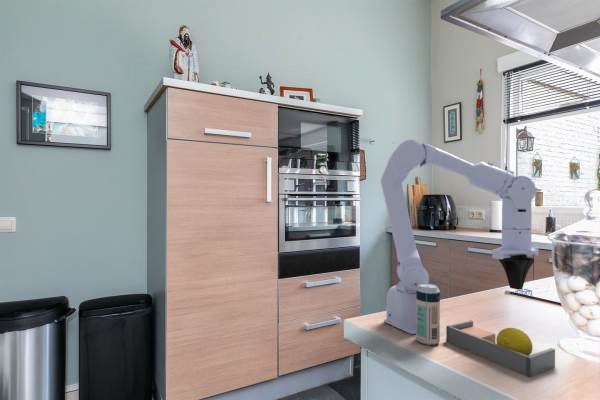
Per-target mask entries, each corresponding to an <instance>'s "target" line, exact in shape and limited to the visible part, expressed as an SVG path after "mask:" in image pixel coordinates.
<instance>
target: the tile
mask: <svg viewBox="0 0 600 400" xmlns="http://www.w3.org/2000/svg"><path fill="white" fill-rule="evenodd" d="M461 331H464V332H467V333H469V334H472V335H474V336H477V337H480V338H482V339H485V340H488V341H490V342H493V343H495V344H496V333H495V332H493V331H492V332H491V331H488V330H486V329H484V328H480V327H477V326H474V325H473V326H472V327H468V328H465V329H461Z"/></svg>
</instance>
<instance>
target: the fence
mask: <svg viewBox="0 0 600 400" xmlns="http://www.w3.org/2000/svg"><path fill="white" fill-rule="evenodd" d="M472 326H474V321H473V320H467V321H466V320H465V321H463V322H458V323H453V324H450V325H446V335H445V338H446V340H445V341H446V342H448V343H451V344H452V345H455V346H457V347H460V348H461V349H464V350H467V351H469V352H471V353H474V354H476V355H478V356H480V357H482V358H485V359H488V360H490V361H492V362H494V363H497V364H500V365H501V366H504V367H506V368H508V369H511V370H513V371H515V372H518V373H520V374H522V375H525V376H527V377H529V378H531V377H532V376H535V375H538V374H541V373H544V372H545V371H548V370H551V369H553V368H555V367H556V349H555V348H552V347H550V348H547V349H543V350H542V351H539V352H536V353H533V354H530V355H529V356H527V355H524V354H522V353H519V352H516V351H514V350H511V349H509V348H506V347H503V346H501V345H498V344H497V343H496V342H495V343H493V342H490V341H488V340H485V339H482V338H480V337H477V336H474V335H472V334H469V333H467V332H464V331H461V329H465V328H468V327H472Z"/></svg>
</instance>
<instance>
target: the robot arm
mask: <svg viewBox="0 0 600 400" xmlns="http://www.w3.org/2000/svg"><path fill="white" fill-rule="evenodd" d="M494 165H495V164H494V162H491V161H486V162H484V161H481V162H477V163H475V164H473V163H471V162H470V161H467V160H465V159H462V158H461V157H458V156H456V155H453V154H452V153H449V152H447V151H445V150H442V149H439V148H437V147H435V146H433V145H431V144H428V143H425V142H422V143H421V142H420V141H418V140H414V139H407V140H404V141H402V142H401V143H400V144H399V145H398V147H396V149H395V150H394V151H393V152H392V154H391V155H390V157H389V159H388V161H387V164H386V167H385V169H384V171H383V174H382V176H381V179H380V184H381V189H382V193H383V198H384V202H385V206H386V210H387V215H388V220H389V224H390V228H391V231H392V232H391V233H392V237H393V243H394V247H395V250H396V257H397V266H396V276H397V277H398V279H399V281H398V283H397V284H395V285H393V286H391V287H390V288H389V289H388V291H387V294H386V318H385V319H383V322H384V323H385V324H388V325H390V326H392V327H394V328H397V329H399V330H401V331H404V332H405V333H407V334H409V335H416V288H417V287H418V284H430V275H429V272H428V271H427V270H426V269H425V268H424V266H423V264H422V261H421V260H422V259H421V257H420V254H419V252H418V249H417V244H416V239H415V236H414V231H413V227H412V223H411V219H410V214H409V211H408V206H407V202H406V197H405V193H404V188H403V183H404V181H405V180H406V179H407V177H408V176H409V174H410V172H412V171H413V170H414V169H416V168H417V167H418V166H419V167H420V168H423V167H425V168H426V167H430V166H431V167H432V166H435V167H438V168H440V169H444V170H446V171H449V172H452V173H455V174H458V175H461V176H463V177H466V178H467V179H468V180H467V181H468V182H469V184H470V185H471V186H474V187H476V188H479V189H481V190H484V191H487V192H488V193H492V194H494V195H495V196H496V195H497V196H499V198H500V199H501V202H502V203H501V207H502V208H501V247H497V248H493V249H492V250H491V252H492V253H491V254H492V255H491V256H492V257H491V258H492V259H496V260H497V259H498V261H499V262H500V264H501V266H502V268H503V270H504V272H505V275H506V279H507V282H508V285H509V289H514V290H517V291H520V290H523V287H524V284H525V282H526V281H525V280H526V278H527V276H528V272H529V270H530V269H531V267H532V265H533V264H534V263H535V258H534V257H529V256H539V252H540V251H539V246H532V212H533V211H532V210H533V209H532V202H533V199H534V198H535V197H536V195H537V193H538V188H537V187H536V185H535V183H534V181H533V180H532V179H531V178H530V177H528V176H525V175H515V171H513V170H504V169H502V168H499V167H497V166H494Z"/></svg>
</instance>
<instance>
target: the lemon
mask: <svg viewBox="0 0 600 400" xmlns="http://www.w3.org/2000/svg"><path fill="white" fill-rule="evenodd" d="M495 341H496V344H498V345H501V346H503V347H506V348H509V349H511V350H514V351H516V352H519V353H522V354H524V355H527V356H530V355H532V352H533V342H532V339H531V338H530V337H529V336H528V334H527V333H525V331H523V330H520V329H519V328H515V327H506V328H503V329H501V330H500V331H498V333H497V335H496V338H495Z"/></svg>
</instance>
